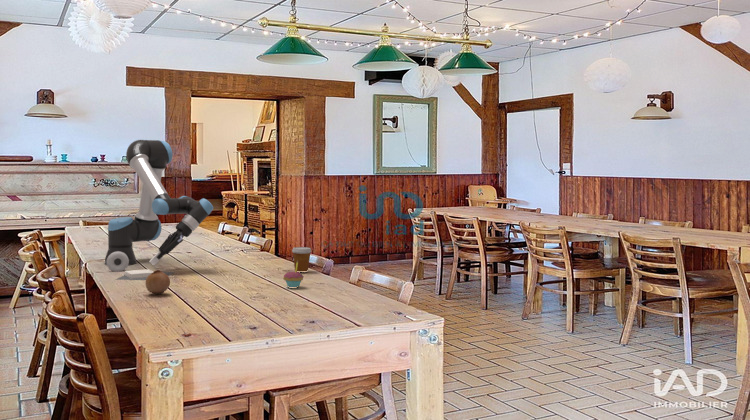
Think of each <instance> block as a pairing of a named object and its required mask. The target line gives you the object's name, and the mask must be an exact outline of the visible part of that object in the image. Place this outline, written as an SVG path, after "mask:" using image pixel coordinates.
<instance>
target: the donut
mask: <svg viewBox="0 0 750 420" xmlns="http://www.w3.org/2000/svg"><path fill="white" fill-rule="evenodd" d="M117 258H119V259H121V264H120V265H115V264H114V260H115V259H117ZM106 263H107V265H106V266H107V268H108V269H109V270H110V271H111V272H123V271H126V270H127V268H128V266H129V265H128V264H129V259H128V257H127V255H126V254H125V253H123V252H119V251H117V252H113V253H111V254H110V255H109V256H108V258H107V262H106Z"/></svg>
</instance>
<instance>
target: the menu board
mask: <svg viewBox="0 0 750 420" xmlns="http://www.w3.org/2000/svg"><path fill="white" fill-rule="evenodd" d="M123 271H124V272H123V273H124V275H125V276H127V277H129V278H131V279H132V278H145V277H148V276H149V275H150V274H152V273H153V272H154V271H155V270H154V271H153V270H152V269H148V268H147V269H135V270H134V269H133V270H123ZM124 275H123V276H124Z"/></svg>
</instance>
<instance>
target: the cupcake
mask: <svg viewBox="0 0 750 420" xmlns="http://www.w3.org/2000/svg"><path fill="white" fill-rule="evenodd" d="M297 266H298V261H297V263H296V269H295V268H294V271H288V272H286V273H284V275H283V278H282V279H283V280H284V281H285V283H286V286H287V287H288V286H289V287H297V286H299V287H300V286H301V283H302V281H303V280H304V275H303V273H299V272H297Z"/></svg>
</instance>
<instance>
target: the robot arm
mask: <svg viewBox="0 0 750 420" xmlns="http://www.w3.org/2000/svg"><path fill="white" fill-rule="evenodd" d="M125 153H126V154H125V155H126V161H127V164H128V165H129V166H130V168H132V169H134V171H135V173H136V175H137V176H138V178H139V179H140V182H141V183H142V188H141V193H140V199H139V200H140V201H139V208H138V212H136V214H135V215H134V219H133V218H132V217H130V216H124V217H123V216H122V217H117V218H112V219H110V220H109V221H108V226H107V231H108V233H107V238H108V241H107V242H108V244H107V245H108V248H107V252H106V256H105V257H104V265H106V266H107V263H106V262H107V258H108V256H109V255H110V254H111V253H113V252H117V251H119V252H123V253H125V254H126V255H127V257H128V259H129V264H128V266H130V265H135V264H136V263H137V257H136V255H135V252H134V249H133V243H137V242H138V243H139V242H151V241H155V240H156V239H158V238H159V237H160V235H161V233H162V223H161V220H160V219H159V217H158V215H161V216H162V215H163V216H164V215H165V216H166V215H179V214H180V215H181V214H185V215H184V217H183V218H182V219H181V221H179V222H178V223H177V224H176V226H175V229H176V231H174V232H173V233H170V234H168V236H167V238H166V239H165V240H164V241H163V242H162V244H161V245H160V246H159V247H158V251H157V252H156V254H154V256H152V258H150V260H149V263H150V264H151V265H152V266H156V265H157V264H158V262H159V261H160V260H161V259H162V258H163V257H164V256H165V255H169V254H170V253H171V251H174V249H175V248H176V247H177V246H178V245H179V244H180V243H182V242H183V241H184V239H183V238H184V237H186V238H189V236H191V235H192V233H193V231H195V230H196V229H197V228H198V227H199V226H200V224H202V223H203V221H204V220H206V218H207V217H208V216H209V215H210V214H211V213H212V211H213V210H214V206H213V204H212V203H211V202H210V201H209V200H208V199H206V198H204V197H203V198H201V199H200V200H199V201H198V200H195V199H194V198H193V197H190V196H186V195H181V196H179V197H178V198H177V197H176V198H174V197H172V198H171V197H170V195H169V194H168V192H167V190H166V189H165V187H164V185H163V184H162V174H163V171H164V170H165V169H166V168H167V165H168V164H170V163H171V162H172V161H173V150H172V147H171V145H170V144H169V143H168V142H167V141H164V140H156V139H153V140H152V139H136V140H134V141H133V142H130V144H129V145H128V147H127V150H126V152H125ZM114 264H115V265H120V264H121V259H119V258H117V259H115V260H114Z"/></svg>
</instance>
